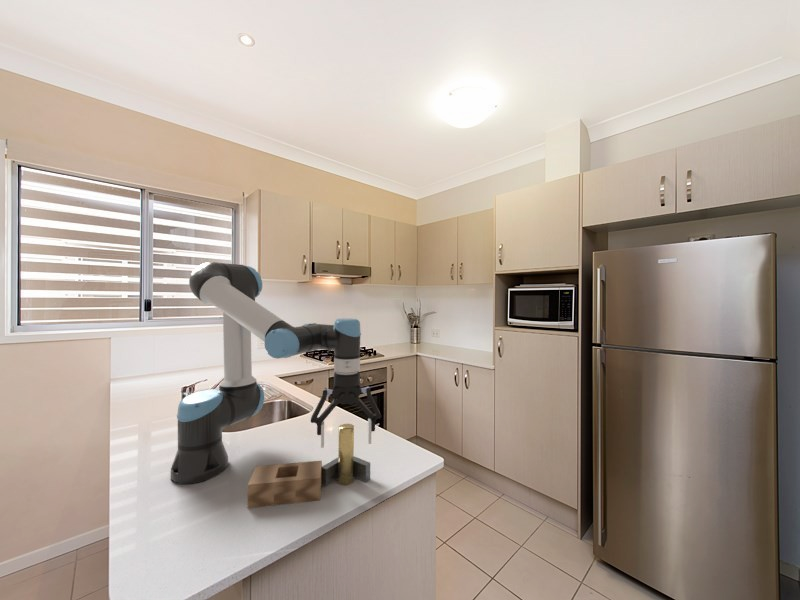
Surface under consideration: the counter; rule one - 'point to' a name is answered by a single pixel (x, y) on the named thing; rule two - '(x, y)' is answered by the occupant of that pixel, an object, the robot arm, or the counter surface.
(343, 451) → the axle
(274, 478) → the wooden block with hole
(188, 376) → the counter surface
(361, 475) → the v block
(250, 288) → the robot arm
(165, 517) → the counter surface
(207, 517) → the counter surface
